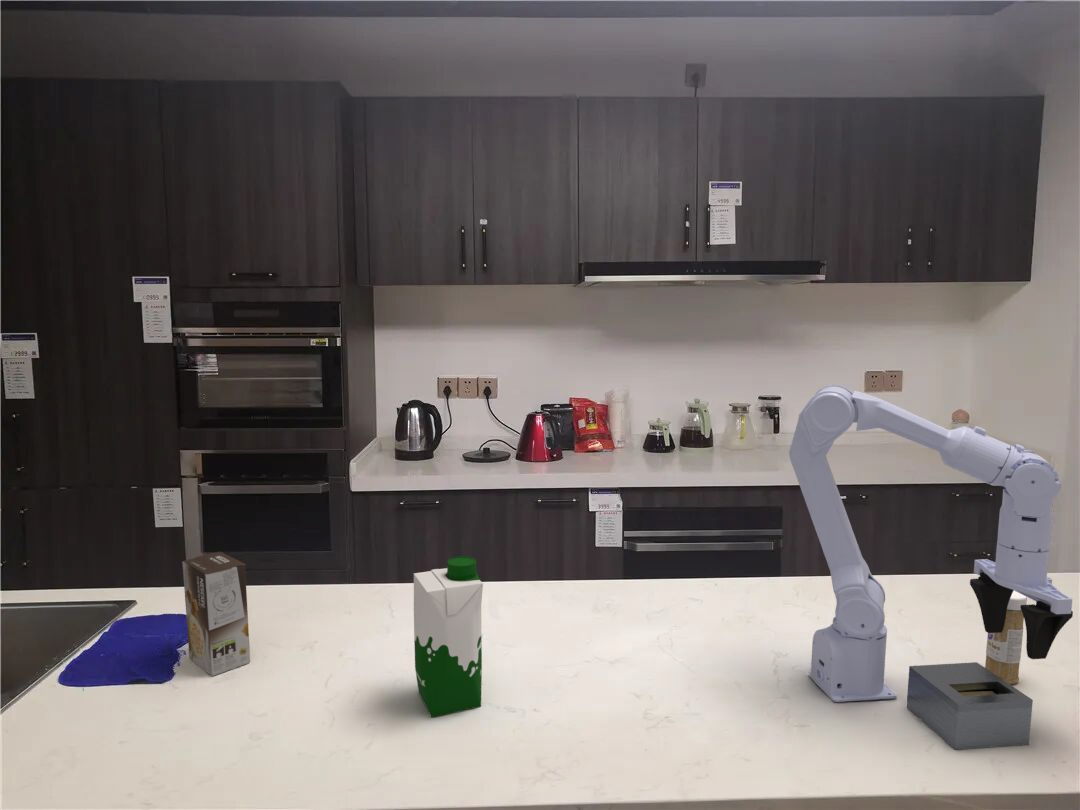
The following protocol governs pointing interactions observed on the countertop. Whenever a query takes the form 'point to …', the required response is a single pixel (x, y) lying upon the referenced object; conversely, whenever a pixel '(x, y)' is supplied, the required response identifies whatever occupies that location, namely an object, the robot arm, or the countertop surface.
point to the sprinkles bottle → (1007, 642)
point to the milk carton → (448, 636)
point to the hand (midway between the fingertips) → (1014, 644)
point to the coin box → (969, 706)
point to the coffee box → (216, 612)
